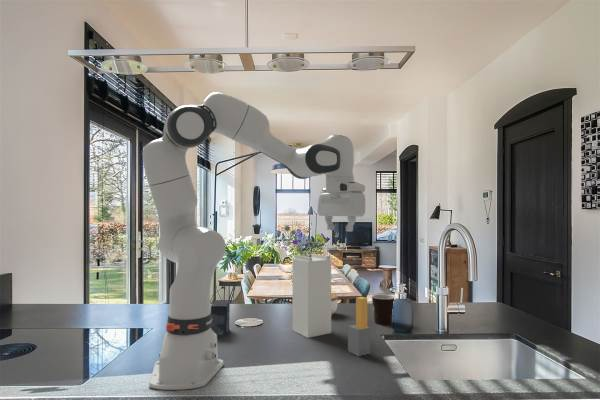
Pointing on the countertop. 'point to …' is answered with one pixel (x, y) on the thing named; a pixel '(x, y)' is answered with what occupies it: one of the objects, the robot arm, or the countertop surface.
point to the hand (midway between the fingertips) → (339, 230)
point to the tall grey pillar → (311, 295)
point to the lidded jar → (334, 303)
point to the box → (220, 317)
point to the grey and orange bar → (359, 330)
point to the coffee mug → (383, 309)
